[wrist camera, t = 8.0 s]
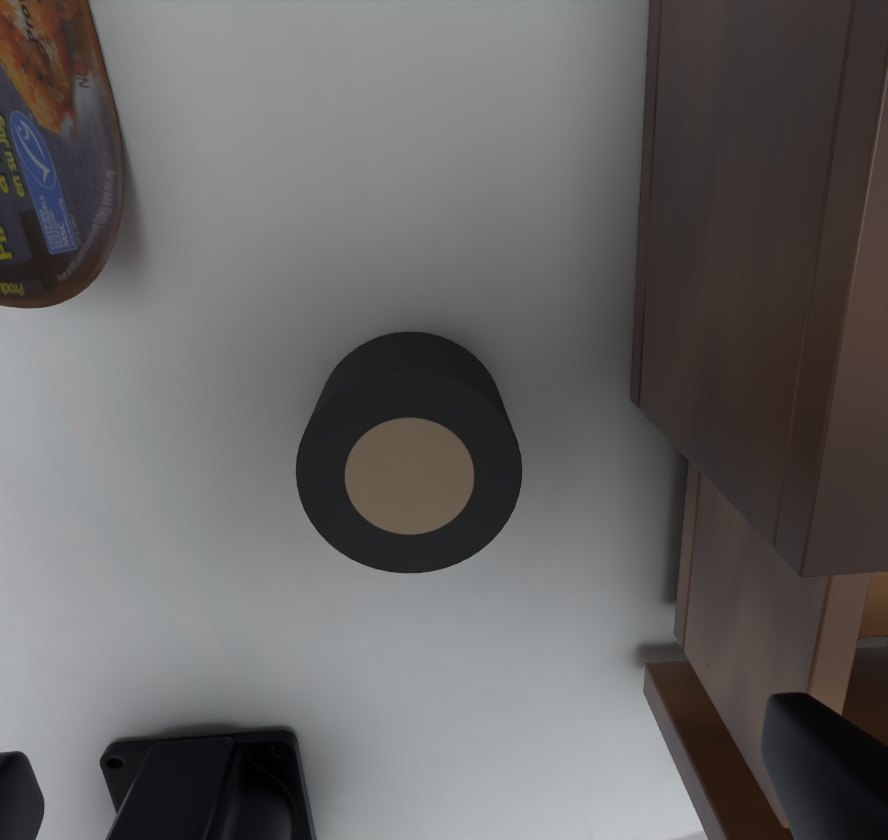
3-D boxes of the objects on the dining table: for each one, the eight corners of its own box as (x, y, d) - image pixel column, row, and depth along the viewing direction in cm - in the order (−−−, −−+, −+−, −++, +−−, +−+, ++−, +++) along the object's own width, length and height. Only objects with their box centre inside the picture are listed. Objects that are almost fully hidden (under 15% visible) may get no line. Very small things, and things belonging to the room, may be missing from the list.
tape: (505, 497, 19) (524, 566, 16) (330, 509, 19) (311, 582, 15) (500, 325, 17) (521, 362, 14) (307, 337, 17) (279, 377, 14)
